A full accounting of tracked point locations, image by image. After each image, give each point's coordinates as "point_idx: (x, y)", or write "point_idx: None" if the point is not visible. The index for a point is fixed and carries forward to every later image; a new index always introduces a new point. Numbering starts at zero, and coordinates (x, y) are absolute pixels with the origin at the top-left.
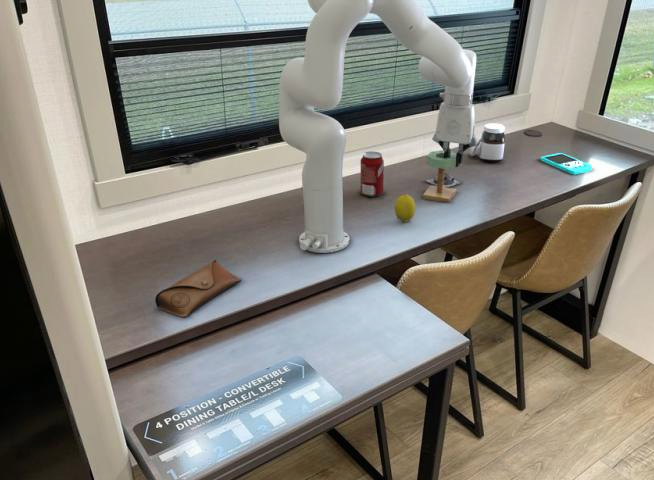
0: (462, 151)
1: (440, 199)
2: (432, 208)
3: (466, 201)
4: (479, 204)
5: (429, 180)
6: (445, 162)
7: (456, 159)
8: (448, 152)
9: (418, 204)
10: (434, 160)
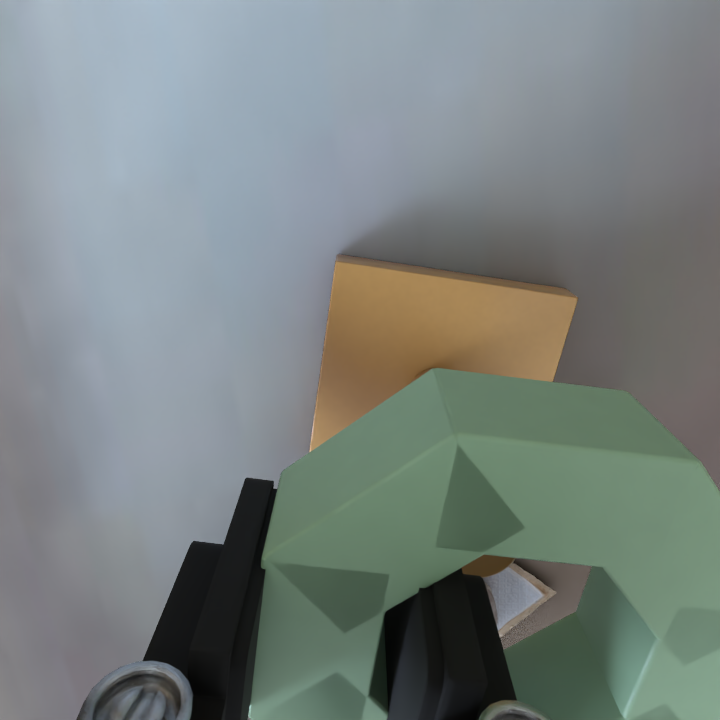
0: (85, 711)
1: (415, 269)
2: (473, 83)
3: (200, 316)
4: (83, 280)
5: (522, 600)
6: (447, 417)
7: (254, 558)
8: (426, 686)
9: (604, 148)
10: (668, 446)
